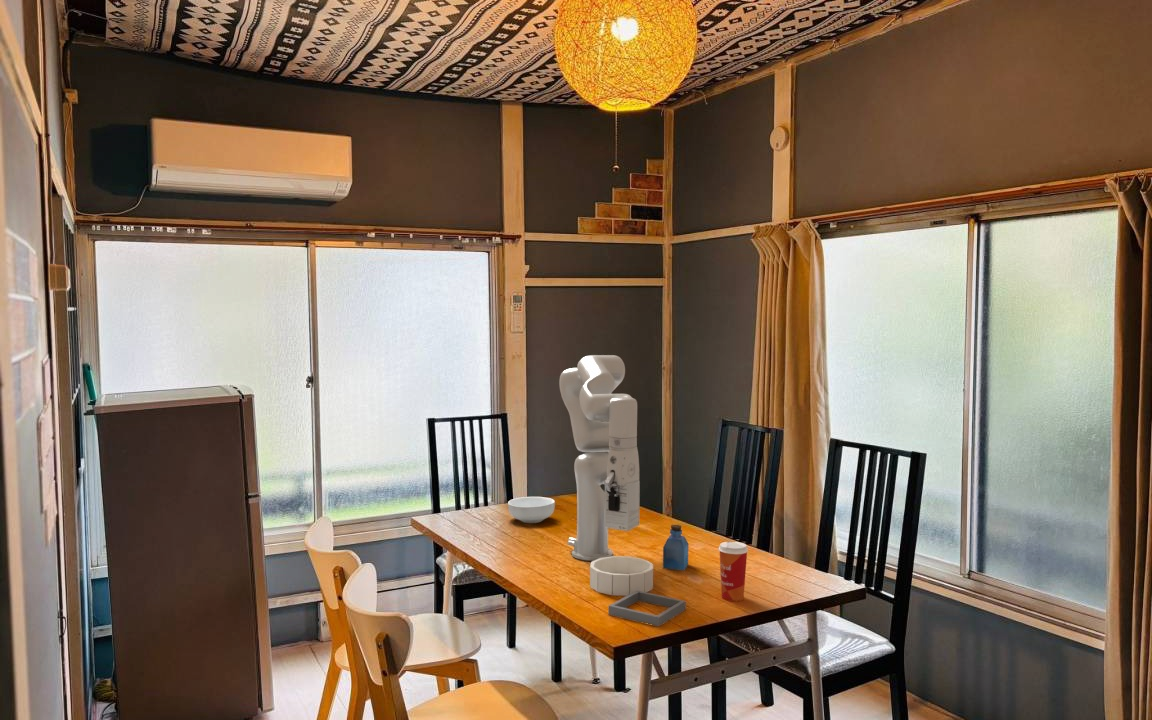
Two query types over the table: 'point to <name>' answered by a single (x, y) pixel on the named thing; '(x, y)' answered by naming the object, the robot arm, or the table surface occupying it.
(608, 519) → the supplement box
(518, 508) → the cereal bowl
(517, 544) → the table surface
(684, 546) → the perfume bottle
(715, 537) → the table surface
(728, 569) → the paper cup
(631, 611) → the gray square frame
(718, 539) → the table surface
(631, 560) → the bowl
